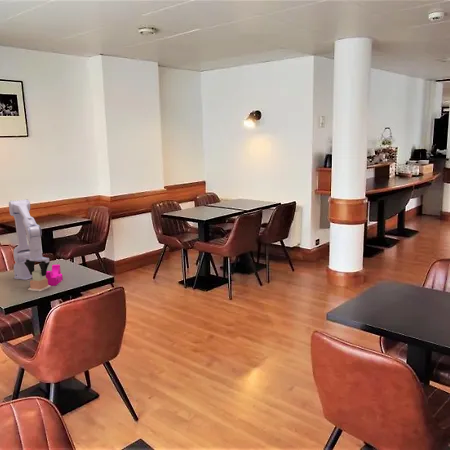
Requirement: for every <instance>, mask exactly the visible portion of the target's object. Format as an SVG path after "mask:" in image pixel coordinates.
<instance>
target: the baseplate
mask: <svg viewBox="0 0 450 450" xmlns="http://www.w3.org/2000/svg"><path fill="white" fill-rule="evenodd" d="M49 288H52V286H51V285H48V286H47V287H45V288H42V289H31V287H28V288H27V291H33V292H42V291H45V290H47V289H49Z"/></svg>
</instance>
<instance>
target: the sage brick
mask: <svg viewBox="0 0 450 450" xmlns="http://www.w3.org/2000/svg"><path fill="white" fill-rule="evenodd" d="M32 277H33V278H32V280H33V281H42V280H44V279H46V275H45V276H42V273H41V269H36V270H34V271H33V272H32Z"/></svg>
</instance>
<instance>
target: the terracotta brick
mask: <svg viewBox="0 0 450 450" xmlns="http://www.w3.org/2000/svg"><path fill="white" fill-rule="evenodd" d="M29 285H30V286H29V288H31V289H42V288H45V287H47V286H48V279H47V278H46V279H44V280H42V281H33V279H32V280H31V279H30V280H29Z"/></svg>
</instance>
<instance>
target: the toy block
mask: <svg viewBox="0 0 450 450" xmlns="http://www.w3.org/2000/svg"><path fill="white" fill-rule="evenodd" d="M46 278H47V279H48V285H51V287H52V286H54V287H55V286H57V285H58V284H60V283H61V282H62V281H63V279H64V278H63V273H62V272H61V264H52V265H51V270H47V272H46Z"/></svg>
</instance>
